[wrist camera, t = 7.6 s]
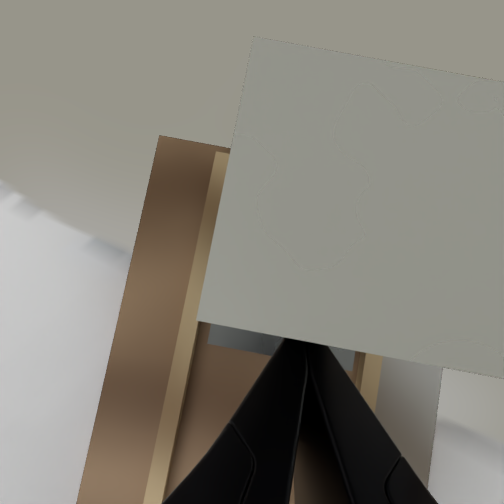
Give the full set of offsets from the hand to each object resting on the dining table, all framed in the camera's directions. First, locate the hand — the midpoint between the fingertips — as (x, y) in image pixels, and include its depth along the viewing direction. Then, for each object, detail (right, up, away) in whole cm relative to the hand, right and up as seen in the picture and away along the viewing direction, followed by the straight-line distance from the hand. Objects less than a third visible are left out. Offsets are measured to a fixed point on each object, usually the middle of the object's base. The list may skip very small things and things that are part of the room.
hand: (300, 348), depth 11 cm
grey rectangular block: (+1, +1, +7) cm, 7 cm away
